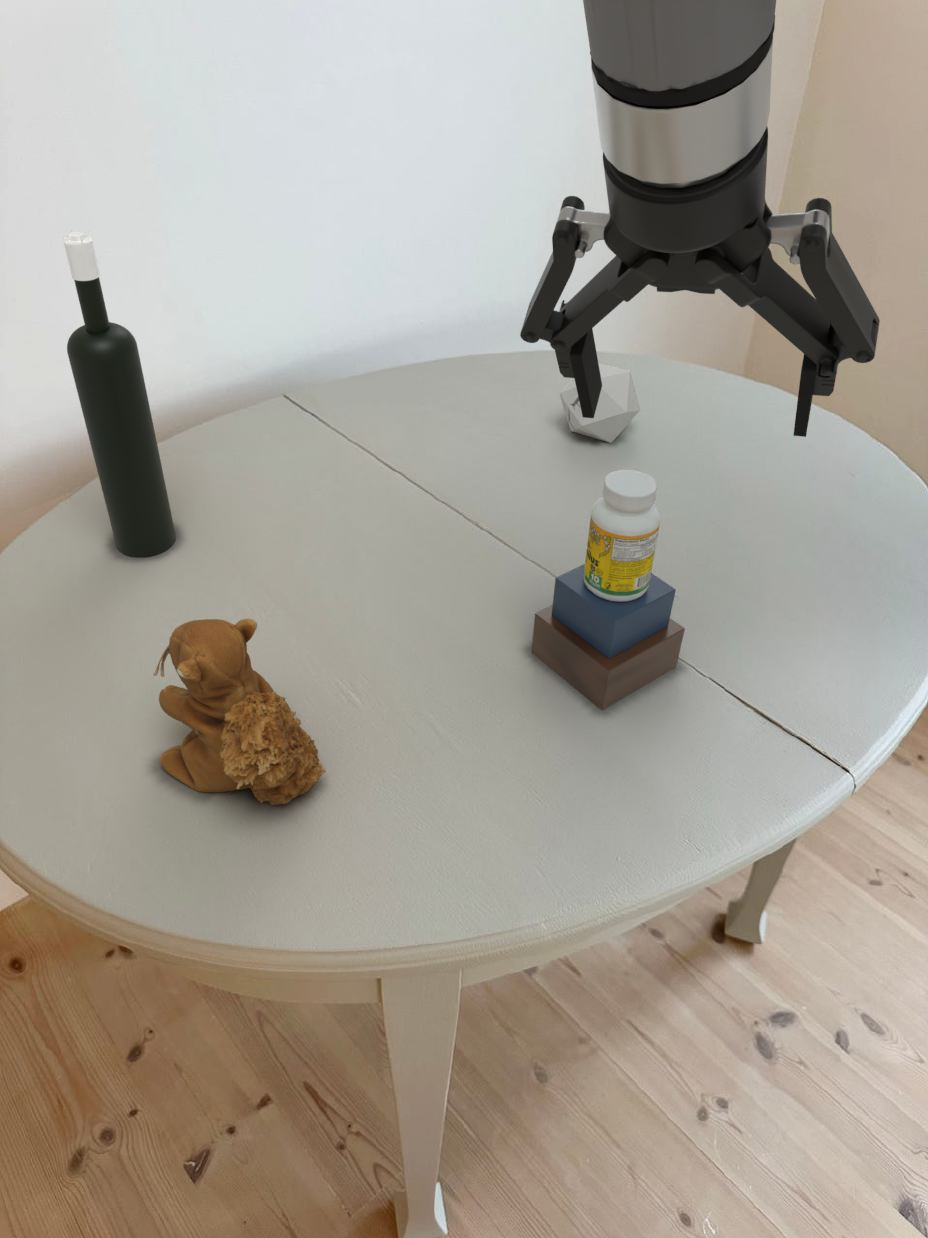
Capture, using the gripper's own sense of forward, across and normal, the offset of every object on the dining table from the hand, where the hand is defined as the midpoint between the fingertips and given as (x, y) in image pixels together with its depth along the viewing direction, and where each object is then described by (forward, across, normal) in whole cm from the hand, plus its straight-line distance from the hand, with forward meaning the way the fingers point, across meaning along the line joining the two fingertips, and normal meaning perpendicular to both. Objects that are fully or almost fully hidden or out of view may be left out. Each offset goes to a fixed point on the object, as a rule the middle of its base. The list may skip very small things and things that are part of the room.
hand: (694, 409), depth 63 cm
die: (+43, +17, -26) cm, 54 cm away
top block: (+21, +6, +7) cm, 23 cm away
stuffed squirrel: (+12, +29, +28) cm, 42 cm away
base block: (+25, +7, +9) cm, 27 cm away
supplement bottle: (+18, +6, +5) cm, 19 cm away
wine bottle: (+21, +54, +6) cm, 58 cm away
